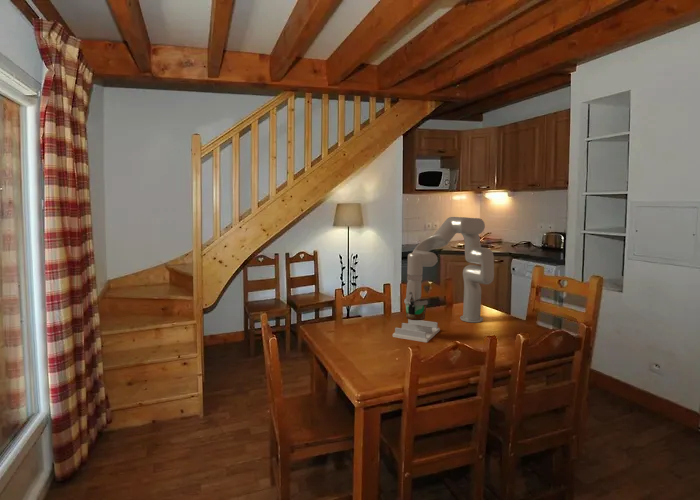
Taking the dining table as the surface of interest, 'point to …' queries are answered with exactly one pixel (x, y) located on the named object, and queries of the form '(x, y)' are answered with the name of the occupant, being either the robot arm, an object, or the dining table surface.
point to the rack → (417, 330)
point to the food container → (417, 310)
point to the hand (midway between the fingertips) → (413, 312)
